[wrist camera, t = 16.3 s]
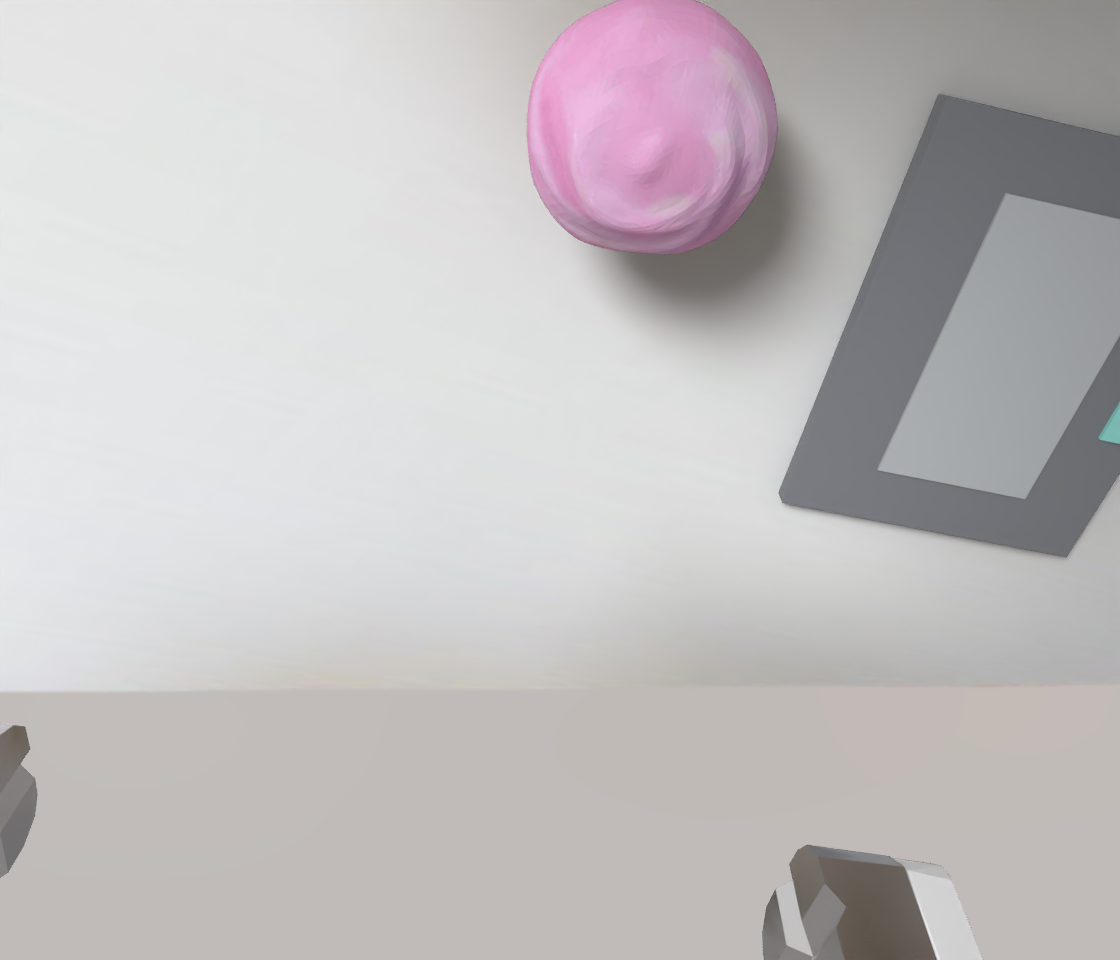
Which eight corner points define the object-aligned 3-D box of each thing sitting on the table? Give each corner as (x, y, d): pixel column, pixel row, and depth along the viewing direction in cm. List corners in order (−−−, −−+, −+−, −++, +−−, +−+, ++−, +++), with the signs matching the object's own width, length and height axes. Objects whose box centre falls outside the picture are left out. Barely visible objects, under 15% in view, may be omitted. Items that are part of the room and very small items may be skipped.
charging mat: (938, 93, 36) (949, 98, 35) (1287, 177, 38) (1307, 183, 37) (778, 492, 47) (783, 505, 46) (1057, 546, 48) (1068, 559, 47)
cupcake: (521, 193, 39) (505, 262, 30) (549, -32, 34) (540, -25, 26) (718, 224, 39) (757, 300, 31) (771, 7, 35) (833, 26, 26)
